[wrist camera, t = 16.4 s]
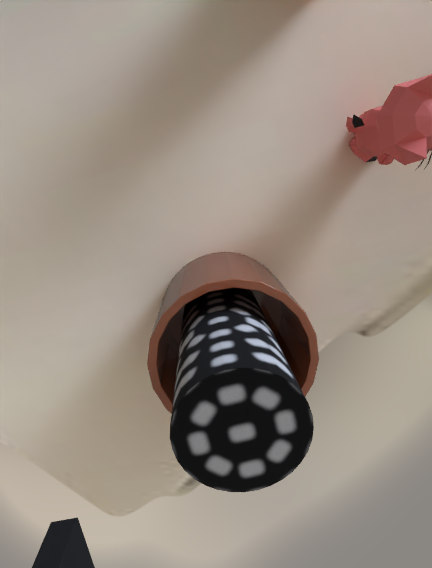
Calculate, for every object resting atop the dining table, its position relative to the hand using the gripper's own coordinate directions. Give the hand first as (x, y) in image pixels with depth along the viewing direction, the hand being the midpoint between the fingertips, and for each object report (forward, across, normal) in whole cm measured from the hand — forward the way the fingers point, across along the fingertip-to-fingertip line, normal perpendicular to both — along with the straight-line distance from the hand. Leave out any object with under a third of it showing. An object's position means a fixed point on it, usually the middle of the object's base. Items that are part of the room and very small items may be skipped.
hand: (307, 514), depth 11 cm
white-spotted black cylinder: (+30, -1, -5) cm, 30 cm away
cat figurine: (+31, +16, +11) cm, 37 cm away
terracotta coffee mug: (+31, -1, -7) cm, 32 cm away
